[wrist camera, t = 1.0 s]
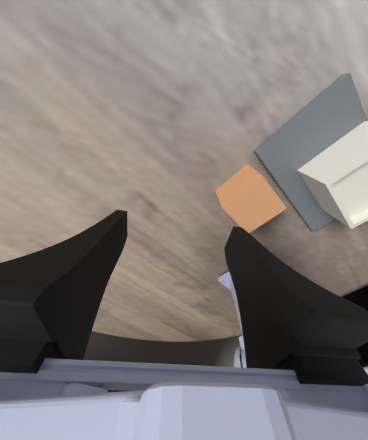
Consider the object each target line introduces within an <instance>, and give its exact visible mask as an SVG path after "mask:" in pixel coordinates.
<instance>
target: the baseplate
mask: <svg viewBox="0 0 368 440" xmlns="http://www.w3.org/2000/svg"><path fill="white" fill-rule="evenodd" d="M364 121H367V118H366V116H365V113H364V110H363V107H362V105H361V102H360V99H359V96H358V94H357V91H356V88H355V86H354V83H353V80H352V77H351V75H350V73H348V74H344V75H342V76H340V77H339V78H338V79H337V80H336V81H335V82H333V83H332V84H331V85H330V86H329V87H328V88H326V89H325V90H324V91H323V92H322V93H321V94H319V95H318V96H317V97H316V98H315V99H314V100H312V101H311V102H310V103H309V104H308V105H307V106H306V107H304V108H303V109H302V110H301V111H300V112H299V113H297V114H296V115H295V116H294V117H293V118H292V119H290V120H289V121H288V122H287V123H286V124H285V125H283V126H282V127H281V128H280V129H279V130H278V131H276V132H275V133H274V134H273V135H272V136H271V137H269V138H268V139H267V140H266V141H265V142H264V143H262V144H261V145H260V146H259V147H258V148H257V149H255V150H254V153H255V154H256V155H257V157H258V158H259V159H260V161H261V162H262V164H263V165H264V166H265V168H266V169H267V171H268V172H269V173H270V175H271V176H272V177H273V179H274V180H275V182H276V183H277V184H278V186H279V187H280V188H281V190H282V191H283V193H284V194H285V195H286V197H287V198H288V200H289V201H290V202H291V204H292V205H293V206H294V208H295V209H296V211H297V212H298V213H299V215H300V216H301V218H302V219H303V220H304V222H305V223H306V224H307V226H308V227H309V228H310V229H311V230H312V231H315V230H317V229H319V228H321V227H322V226H324V225H326V224H328V223H329V222H331V221H333V220H335V219H336V218H334V217H333V216H331V215H330V214H328V213H327V212H326V211H324V210H323V209H321V207H320V205H319V204H318V202H317V201H316V199H315V198H314V196H313V194H312V193H311V191H310V190H309V188H308V186H307V185H306V183H305V182H304V180H303V179H302V177H301V175H300V174H299V172H298V171H297V170H298V169H300V168H301V167H302V166H304V165H305V164H307V163H308V162H309V161H311V160H312V159H313V158H315V157H316V156H317V155H319V154H320V153H322V152H323V151H324V150H326V149H327V148H328V147H330V146H331V145H333V144H334V143H335V142H337V141H338V140H339V139H341V138H342V137H344V136H345V135H346V134H348V133H349V132H350V131H352V130H353V129H355V128H356V127H357V126H359V125H360V124H361V123H363V122H364Z"/></svg>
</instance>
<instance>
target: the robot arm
mask: <svg viewBox="0 0 368 440" xmlns="http://www.w3.org/2000/svg"><path fill="white" fill-rule="evenodd" d="M126 238H127V211H122V210H116V211H115V212H113V213H112V214H110V215H109V216H107V217H106V218H104V219H103V220H101V221H100V222H98V223H97V224H95V225H94V226H92V227H90V228H88V229H87V230H85V231H83V232H81V233H80V234H78V235H76V236H74V237H72V238H69V239H67V240H65V241H63V242H61V243H58V244H56V245H53V246H51V247H48V248H46V249H43V250H41V251H38V252H35V253H32V254H29V255H26V256H23V257H20V258H16V259H13V260H10V261H6V262H2V263H0V440H368V367H364V368H363V367H362V366H361V364H360V363H359V362H358V360H360V359H361V355H360V354H359V353H358V351H357V350H356V348H358V347H359V346H361V345H363V344H365V343H367V342H368V312H367V311H366V310H365V309H364V308H362V307H360V306H358V305H356V304H354V303H352V302H350V301H348V300H346V299H344V298H342V297H339V296H337V295H335V294H334V293H332V292H330V291H328V290H326V289H324V288H322V287H321V286H319V285H317V284H315V283H314V282H312V281H310V280H309V279H307V278H305V277H304V276H302V275H301V274H299V273H298V272H296V271H294V270H293V269H292V268H290V267H289V266H287V265H286V264H285V263H283V262H282V261H281V260H279V259H278V258H277V257H275V256H274V255H273V254H272V253H271V252H269V251H268V250H267V249H266V248H265V247H264V246H262V245H261V244H260V243H259V242H258V241H257V240H256V239H255V238H254V237H253V236H251V235H250V234H249V233H248V232H247V231H246V230H245V229H243V228H242V227H235V226H233V229H232V231H231V234H230V236H229V238H228V241H227V243H226V246H225V256H226V262H227V265H228V269H229V272H227V273H225V274H223V275H222V276H220V277H219V278H218V281H219V282H220V283H222V284H223V285H224V286H226V287H227V288H228V289H229V290H231V292H232V296H233V300H234V304H235V308H236V312H237V316H238V320H239V324H240V328H241V332H242V335H243V336H241V337H239V341H240V347H237V349H236V352H235V356H234V367H217V366H197V365H176V364H154V363H133V362H114V361H92V360H83V358H84V355H85V351H86V347H87V344H88V340H89V337H90V334H91V331H92V328H93V324H94V321H95V318H96V315H97V312H98V309H99V306H100V303H101V300H102V297H103V294H104V291H105V288H106V286H107V283H108V281H109V278H110V276H111V274H112V272H113V270H114V268H115V265H116V263H117V261H118V259H119V257H120V255H121V253H122V250H123V248H124V245H125V242H126ZM107 390H134V391H128V392H115V393H114V392H113V393H108V392H107Z"/></svg>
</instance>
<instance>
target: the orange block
mask: <svg viewBox="0 0 368 440" xmlns="http://www.w3.org/2000/svg"><path fill="white" fill-rule="evenodd" d="M216 194H217V196H218V199H219V201H220V204H221V207H222V208H223V209H224V210H225V211H226V212H227V213H228V214H229V215H230V216H231V217H232V219H233V220H234V221H235V222H236V223H237V224H238V225H239V226H240V227H242V228H243V229H245V230H246V231H247V232H248V233H250V232H252V231H254V230H255V229H257V228H258V227H260V226H261V225H263V224H264V223H266V222H267V221H269V220H270V219H272V218H273V217H275V216H276V215H278V214H279V213H281V212H282V211H284V210H285V209H287V208H286V206H285V205H284V204H283V202H282V201H281V200H280V198H279V197H278V196H277V194H276V193H275V192H274V190H273V189H272V188H271V186H270V185H269V184H268V182H267V181H266V180H265V178H264V177H263V176H262V175H261V174H260V173H259V172H257V171H256V170H255V169H253V168H252V167H251V166H250V165H248V164H247V165H246V166H244V167H243V168H242V169H241V170H240V171H238V172H237V173H236V174H235V175H234V176H232V177H231V178H230V179H229V180H228V181H226V182H225V183H224V184H223V185H222V186H220V187H219V188H218V189H217V190H216Z"/></svg>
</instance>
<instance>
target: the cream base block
mask: <svg viewBox="0 0 368 440" xmlns="http://www.w3.org/2000/svg"><path fill="white" fill-rule="evenodd" d="M297 171H298V172H299V174H300V175H301V177H302V179H303V180H304V182H305V183H306V185H307V186H308V188H309V190H310V191H311V193H312V194H313V196H314V198H315V199H316V201H317V202H318V204H319V205H320V207H321V209H323V210H324V211H326V212H327V213H328V214H330V215H331V216H333V217H334V218H336V219H337V220H339V221H340V222H341V223H343V224H344V225H346V226H347V227H349V228H350V229H352V228H354V227H356V226H358V225H360V224H362V223H364V222H366V221H368V121H364V122H363V123H361V124H360V125H359V126H357V127H356V128H355V129H353V130H352V131H350V132H349V133H348V134H346V135H345V136H344V137H342V138H341V139H339V140H338V141H337V142H335V143H334V144H333V145H331V146H330V147H328V148H327V149H326V150H324V151H323V152H322V153H320V154H319V155H317V156H316V157H315V158H313V159H312V160H311V161H309V162H308V163H307V164H305V165H304V166H302V167H301V168H300V169H298V170H297Z"/></svg>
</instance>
